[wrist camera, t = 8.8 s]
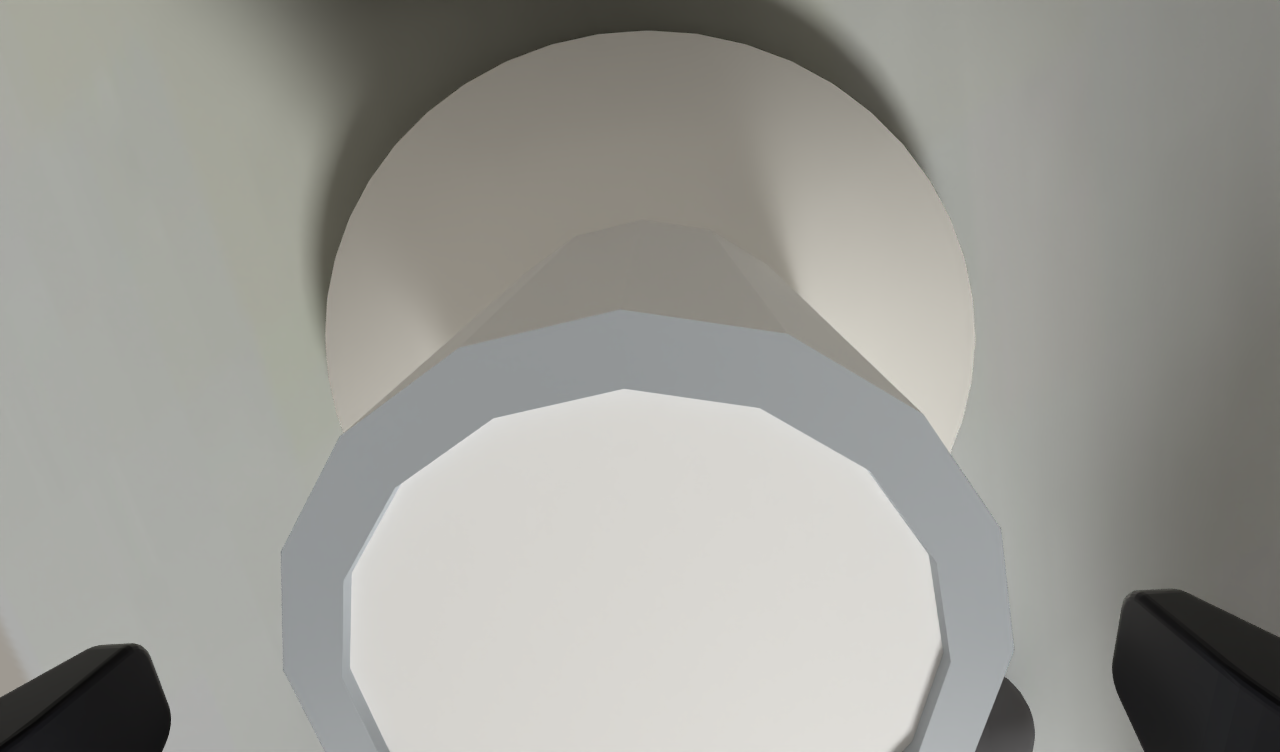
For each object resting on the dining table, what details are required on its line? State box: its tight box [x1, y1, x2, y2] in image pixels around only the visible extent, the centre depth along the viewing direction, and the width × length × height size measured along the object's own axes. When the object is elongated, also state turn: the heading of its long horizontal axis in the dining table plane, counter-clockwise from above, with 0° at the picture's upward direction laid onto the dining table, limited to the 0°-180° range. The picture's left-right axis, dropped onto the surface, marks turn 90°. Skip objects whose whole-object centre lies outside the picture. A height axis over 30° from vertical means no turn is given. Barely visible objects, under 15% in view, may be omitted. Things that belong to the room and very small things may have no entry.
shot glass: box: [281, 220, 1014, 752], centre depth 11 cm, size 7×7×7 cm
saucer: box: [325, 30, 975, 453], centre depth 15 cm, size 11×11×1 cm
